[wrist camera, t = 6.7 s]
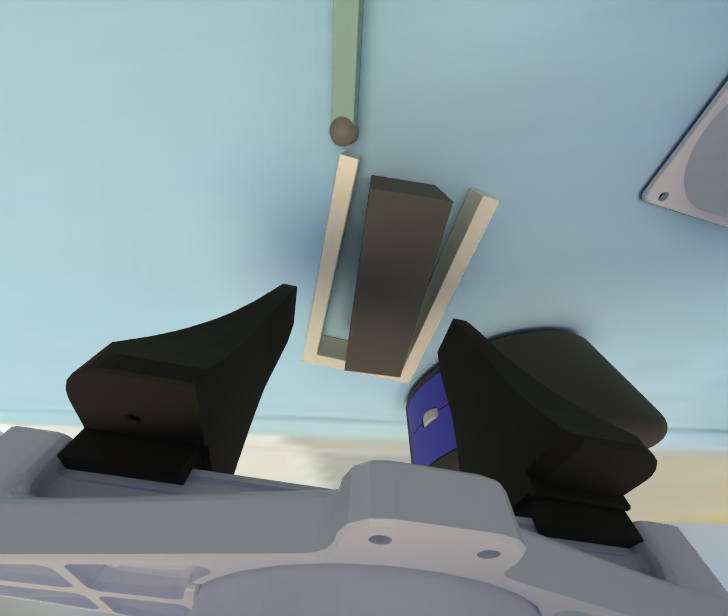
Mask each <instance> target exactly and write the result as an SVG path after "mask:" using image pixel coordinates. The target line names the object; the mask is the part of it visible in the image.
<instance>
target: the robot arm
mask: <svg viewBox="0 0 728 616" xmlns="http://www.w3.org/2000/svg"><path fill="white" fill-rule="evenodd" d="M662 193H663V195H662V197H661V198H659V199H658V197H659V196H660V195H661V194H662ZM642 200H643V201H645V202H647V203H651V204H654V205H657V206H660V207H664V208H667V209H670V210H673V211H677V212H680V213H683V214H686V215H689V216H693V217H696V218H699V219H702V220H706V221H709V222H712V223H715V224H719V225H722V226H725V227H728V80H727V82H726V83H725V84H724V86H723V87H722V88H721V90H720V91H719V92H718V94H717V95H716V96H715V98H714V99H713V100H712V102H711V103H710V104H709V106H708V107H707V108H706V110H705V111H704V112H703V114H702V115H701V116H700V118H699V119H698V120H697V121H696V123H695V124H694V125H693V127H692V128H691V129H690V131H689V132H688V133H687V135H686V136H685V137H684V139H683V140H682V141H681V143H680V144H679V145H678V147H677V148H676V149H675V151H674V152H673V153H672V155H671V156H670V157H669V159H668V160H667V161H666V163H665V164H664V165H663V167H662V168H661V169H660V171H659V172H658V173H657V175H656V176H655V177H654V179H653V180H652V181H651V183H650V184H649V185H648V187H647V188H646V189H645V191H644V192H643V194H642ZM296 294H297V286H292V285H287V284H282V285H280V286H279V287H277V288H275V289H274V290H272V291H271V292H269V293H267V294H266V295H264V296H262V297H261V298H259V299H257V300H255V301H254V302H252V303H250V304H248V305H246V306H244V307H242V308H240V309H238V310H236V311H234V312H232V313H229V314H227V315H224V316H222V317H219V318H217V319H214V320H211V321H208V322H205V323H202V324H199V325H195V326H192V327H189V328H185V329H181V330H177V331H173V332H169V333H164V334H160V335H155V336H149V337H143V338H137V339H130V340H124V341H117V342H112V343H110V344H109V345H108V346H106V347H105V348H104V349H103V350H101V351H100V352H99V353H98V354H96V355H95V356H94V357H92V358H91V359H90V360H89V361H87V362H86V363H85V364H84V365H82V366H81V367H80V368H78V369H77V370H76V371H75V372H73V373H72V374H71V375H70V377H69V378H68V379H67V382H66V392H67V395H68V398H69V400H70V402H71V404H72V406H73V408H74V409H75V411H76V413H77V415H78V417H79V418H80V420H81V422H82V424H83V426H84V429H83V430H82V431H81V432H80V433H79V434H78V435H77V436H76V437H75V438H74V439H72V438H71V437H69V436H67V435H65V434H62V433H59V432H54V431H47V430H40V429H34V428H27V427H21V426H15V427H11V428H10V429H9V430H8V431H6V432H5V433H4V434H3V435H1V436H0V597H7V598H14V599H22V600H30V601H35V602H42V603H49V604H54V605H61V606H67V607H73V608H79V609H85V610H91V611H96V612H102V613H108V614H114V615H120V616H728V592H727V591H726V590H725V588H724V587H723V586H722V585H721V583H720V582H719V581H718V579H717V578H716V577H715V575H714V574H713V573H712V571H711V570H710V569H709V567H708V566H707V565H706V563H705V562H704V561H703V560H702V558H701V557H700V556H699V555H698V553H697V552H696V550H695V549H694V548H693V546H692V545H691V544H690V543H689V541H688V540H687V539H686V537H685V536H684V535H683V533H682V532H681V531H680V530H679V528H678V527H676V526H673V525H668V524H662V523H655V522H649V521H637V522H633V523H632V521H631V520H630V518H629V517H628V515H627V514H626V512H625V511H628V510H630V509H631V508H630V505H629V503H628V502H627V500H626V499H625V497H624V496H623V495H625V494H626V493H628V492H629V491H631V490H632V489H634V488H636V487H637V486H639V485H640V484H642V483H643V482H645V481H646V480H647V479H648V478H650V477H651V476H652V475H653V473H654V472H655V470H656V466H657V460H656V458H655V456H654V455H653V454H652V453H651V452H650V450H649V449H648V448H647V447H646V446H645V445H644V443H643V442H642V441H641V440H640V439H639V438H638V437H637V436H636V435H634V434H632V433H630V432H628V431H626V430H624V429H622V428H619V427H617V426H615V425H613V424H611V423H609V422H607V421H605V420H603V419H601V418H599V417H597V416H595V415H593V414H591V413H589V412H588V411H586V410H584V409H582V408H580V407H578V406H577V405H575V404H573V403H571V402H570V401H568V400H566V399H565V398H563V397H561V396H560V395H558V394H557V393H555V392H553V391H552V390H550V389H549V388H547V387H546V386H544V385H543V384H541V383H540V382H538V381H537V380H536V379H534V378H533V377H531V376H530V375H529V374H527V373H526V372H525V371H523V370H522V369H521V368H519V367H518V366H517V365H516V364H515V363H513V362H512V361H511V360H510V359H509V358H507V357H506V356H505V355H504V354H503V353H502V352H501V351H499V350H498V349H497V348H496V347H495V346H494V345H493V344H492V343H491V342H490V341H488V340H487V339H486V338H485V337H484V336H483V335H482V334H481V333H480V332H479V331H478V330H477V329H475V328H474V327H473V326H472V325H471V324H469V323H468V322H467V321H464V320H459V319H454V318H453V320H452V322H451V325H450V327H449V329H448V331H447V333H446V335H445V337H444V339H443V342H442V344H441V346H440V348H439V350H438V360H439V368H440V373H441V377H442V381H443V385H444V389H445V393H446V396H447V400H448V404H449V408H450V411H451V415H452V420H453V425H454V432H455V438H456V445H457V453H458V462H459V471H454V470H447V469H441V468H434V467H428V466H422V465H415V464H409V463H403V462H396V461H375V460H371V461H368V462H365V463H362V464H359V465H355V466H354V467H353V468H351V469H350V470H349V472H348V473H347V474H346V475H345V476H344V477H343V478H342V481H341V484H340V487H339V489H335V490H334V489H327V488H320V487H314V486H307V485H300V484H293V483H286V482H280V481H273V480H266V479H259V478H252V477H245V476H239V475H234V472H235V469H236V466H237V463H238V460H239V457H240V454H241V451H242V449H243V446H244V443H245V440H246V437H247V434H248V431H249V428H250V426H251V423H252V420H253V417H254V415H255V412H256V409H257V406H258V404H259V401H260V398H261V396H262V393H263V391H264V388H265V386H266V384H267V382H268V380H269V378H270V376H271V374H272V372H273V370H274V368H275V366H276V364H277V362H278V360H279V358H280V356H281V354H282V352H283V350H284V348H285V346H286V344H287V342H288V339H289V336H290V333H291V330H292V327H293V324H294V315H295V304H296Z"/></svg>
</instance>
